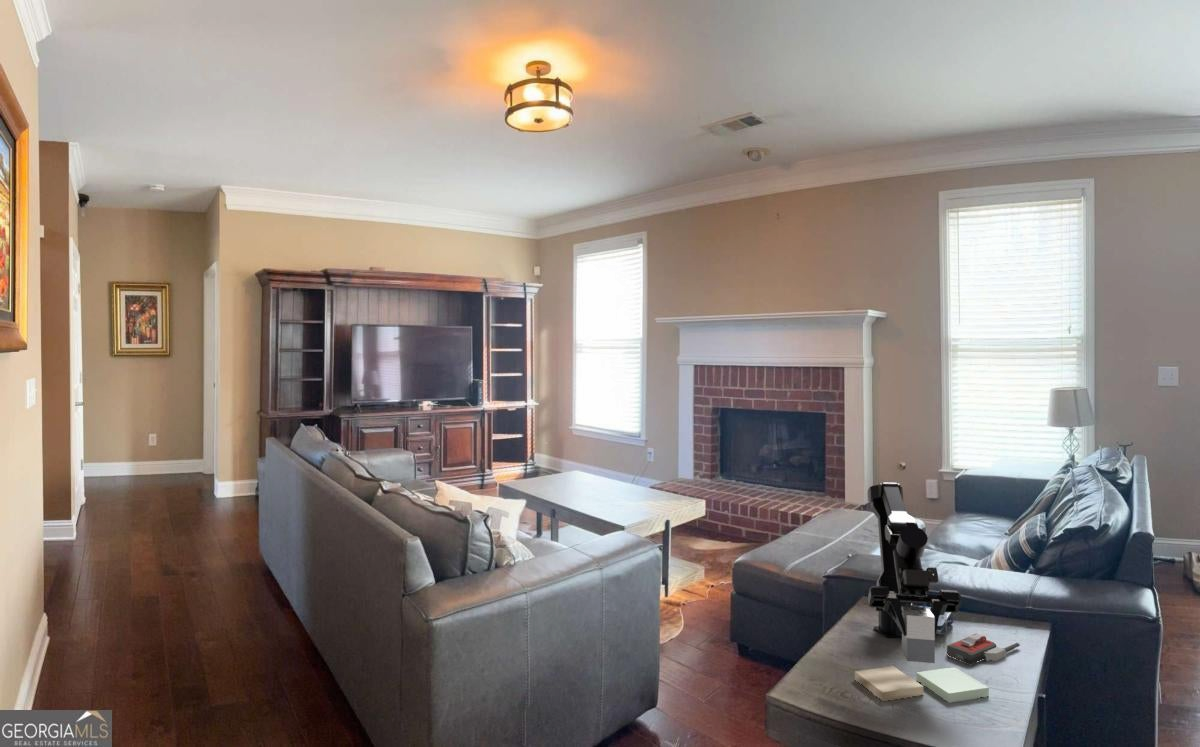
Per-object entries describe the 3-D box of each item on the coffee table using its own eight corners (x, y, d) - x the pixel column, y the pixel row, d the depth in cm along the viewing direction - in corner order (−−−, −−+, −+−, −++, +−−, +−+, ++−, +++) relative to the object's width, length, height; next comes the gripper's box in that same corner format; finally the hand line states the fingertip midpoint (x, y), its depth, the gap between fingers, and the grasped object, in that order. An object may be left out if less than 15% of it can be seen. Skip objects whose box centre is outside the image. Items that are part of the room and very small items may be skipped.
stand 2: (916, 681, 154) (916, 672, 154) (954, 675, 156) (954, 667, 156) (948, 702, 144) (948, 693, 144) (988, 696, 146) (988, 687, 146)
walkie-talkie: (977, 671, 159) (1023, 651, 169) (977, 653, 158) (1023, 633, 169) (941, 657, 166) (987, 639, 176) (941, 639, 166) (987, 622, 176)
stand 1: (854, 680, 154) (854, 671, 154) (893, 674, 157) (893, 666, 157) (882, 701, 145) (882, 692, 145) (923, 695, 147) (923, 686, 147)
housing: (902, 650, 153) (901, 605, 153) (928, 652, 152) (928, 607, 151) (907, 660, 148) (906, 615, 147) (934, 663, 146) (934, 617, 146)
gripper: (869, 550, 155) (877, 616, 145) (959, 554, 151) (974, 623, 140) (864, 573, 163) (872, 638, 152) (950, 578, 159) (963, 645, 148)
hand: (919, 636), depth 148 cm, fingers closed on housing, 5 cm apart
